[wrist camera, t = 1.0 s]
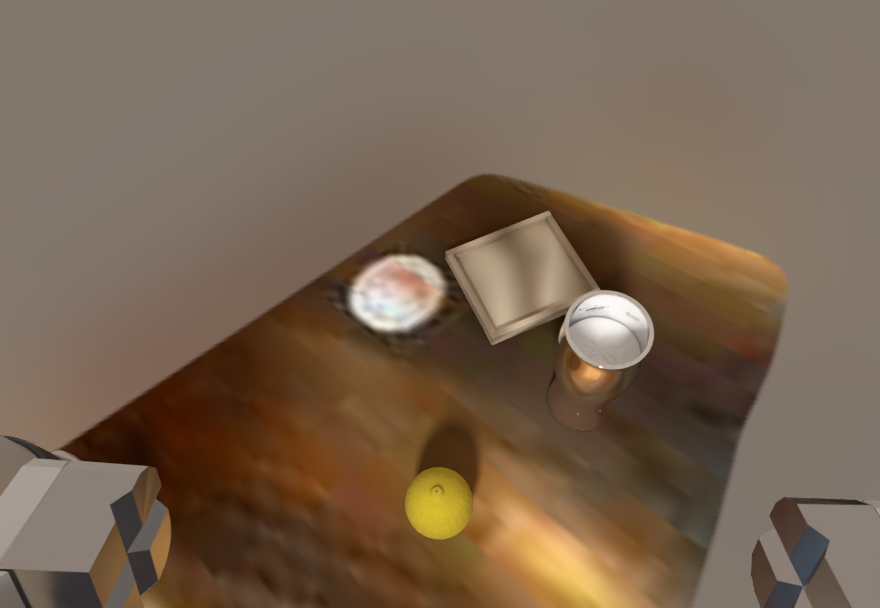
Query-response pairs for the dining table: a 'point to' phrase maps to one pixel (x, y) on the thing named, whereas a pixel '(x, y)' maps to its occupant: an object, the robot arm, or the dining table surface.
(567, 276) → the tray
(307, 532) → the dining table surface
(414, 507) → the lemon
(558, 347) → the beer glass
